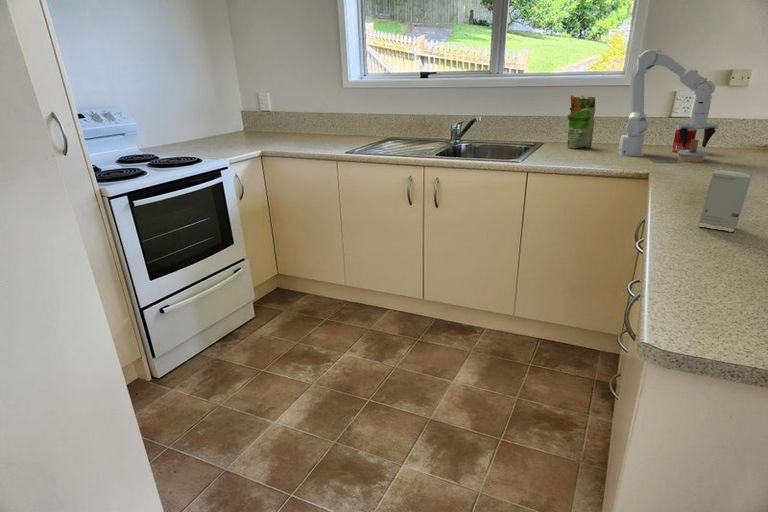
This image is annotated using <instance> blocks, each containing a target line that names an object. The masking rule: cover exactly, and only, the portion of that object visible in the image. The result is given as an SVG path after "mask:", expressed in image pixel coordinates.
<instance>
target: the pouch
mask: <svg viewBox="0 0 768 512" xmlns="http://www.w3.org/2000/svg"><path fill="white" fill-rule="evenodd" d="M569 98H570V108H569V111H570V113H569V114H567V120H568V133H567V148H568V149H571V150H572V149H574V150H575V149H589V148H592V143H593V134H594V129H595V120H594V118H595V117H594V116H595V114H596V97H594V96H587V97H586V96H584V95H581V97H580V96H575V95H573V94H572V95H570V96H569Z"/></svg>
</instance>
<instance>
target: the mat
mask: <svg viewBox="0 0 768 512" xmlns="http://www.w3.org/2000/svg"><path fill="white" fill-rule="evenodd" d="M647 159H648V160H649V161H650V162H652V163H653V164H681V161H678V159H675V158H672V157H647Z"/></svg>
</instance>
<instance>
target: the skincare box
mask: <svg viewBox="0 0 768 512" xmlns="http://www.w3.org/2000/svg"><path fill="white" fill-rule="evenodd" d="M752 176H753V174H752V173H747V172H739V171H731V170H724V169H715V170H714V171H713V172H712V174H711V178H710V182H709V185H708V189H707V193H706V196H705V201H704V204H703V207H702V211H701V215H700V219H699V222H698V224H699V223H706V224H710V225H714V226H721V227H726V228H731V229H735V228H737V227H738V223H739V220H740V217H741V213H742V210H743V206H744V203H745V200H746V197H747V194H748V190H749V187H750V183H751V180H752ZM736 226H737V227H736ZM735 230H736V229H735Z"/></svg>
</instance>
